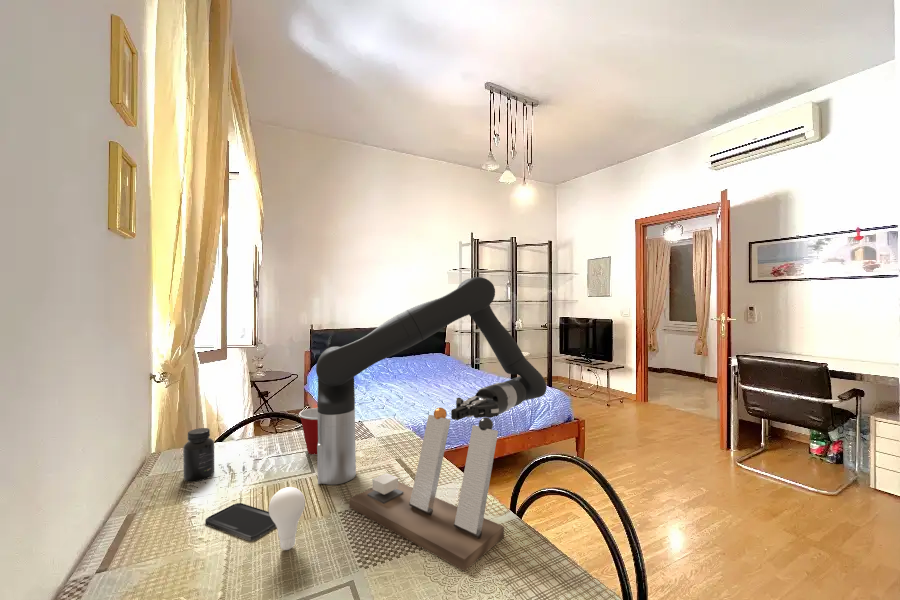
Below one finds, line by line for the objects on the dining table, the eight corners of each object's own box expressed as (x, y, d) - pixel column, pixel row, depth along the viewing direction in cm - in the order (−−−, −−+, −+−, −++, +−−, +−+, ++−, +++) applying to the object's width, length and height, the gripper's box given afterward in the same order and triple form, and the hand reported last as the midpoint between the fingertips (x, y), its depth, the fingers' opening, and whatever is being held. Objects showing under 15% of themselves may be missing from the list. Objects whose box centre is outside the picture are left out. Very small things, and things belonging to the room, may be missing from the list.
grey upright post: (459, 526, 74) (479, 415, 79) (483, 537, 70) (502, 420, 76) (450, 527, 72) (471, 414, 77) (474, 539, 68) (495, 419, 74)
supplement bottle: (177, 480, 100) (176, 433, 100) (202, 469, 106) (202, 425, 106) (195, 484, 97) (194, 436, 97) (220, 473, 103) (220, 427, 103)
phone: (238, 502, 87) (285, 517, 80) (238, 507, 87) (286, 522, 80) (202, 520, 79) (251, 538, 73) (202, 525, 79) (251, 544, 73)
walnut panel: (391, 486, 94) (391, 477, 94) (504, 536, 73) (503, 524, 73) (349, 507, 85) (349, 496, 85) (464, 571, 64) (464, 556, 64)
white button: (386, 486, 89) (386, 472, 89) (398, 491, 86) (398, 477, 86) (372, 492, 86) (372, 479, 86) (384, 498, 83) (384, 484, 83)
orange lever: (415, 505, 82) (436, 406, 87) (434, 514, 78) (455, 410, 83) (405, 506, 80) (427, 404, 85) (425, 515, 76) (447, 408, 81)
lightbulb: (292, 562, 67) (291, 498, 67) (261, 558, 68) (260, 495, 68) (312, 540, 73) (311, 482, 73) (283, 537, 74) (282, 479, 74)
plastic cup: (330, 458, 112) (329, 416, 112) (293, 458, 112) (292, 417, 112) (341, 444, 123) (341, 406, 123) (307, 444, 123) (307, 406, 123)
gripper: (475, 381, 105) (431, 394, 92) (518, 387, 96) (477, 403, 83) (476, 409, 105) (432, 426, 92) (519, 417, 96) (478, 438, 83)
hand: (453, 415), depth 87 cm, fingers closed
